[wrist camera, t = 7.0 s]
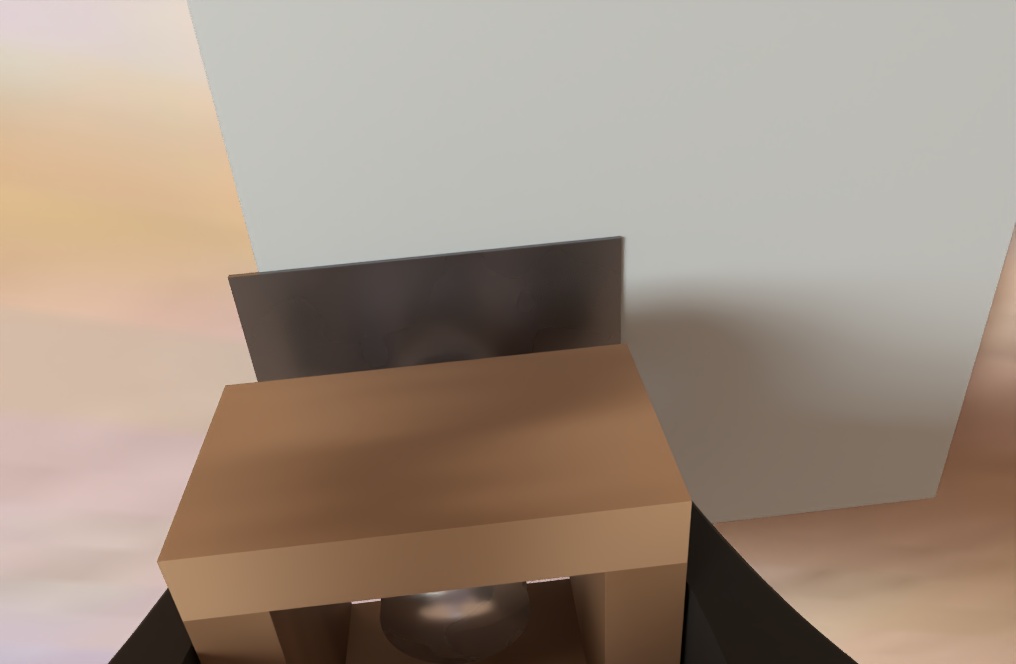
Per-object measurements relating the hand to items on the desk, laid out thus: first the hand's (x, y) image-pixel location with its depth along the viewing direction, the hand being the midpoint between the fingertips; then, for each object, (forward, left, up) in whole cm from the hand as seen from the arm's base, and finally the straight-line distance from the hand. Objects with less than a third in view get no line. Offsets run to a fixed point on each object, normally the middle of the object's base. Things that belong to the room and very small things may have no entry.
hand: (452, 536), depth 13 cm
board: (-2, -4, -4) cm, 6 cm away
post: (0, 0, -4) cm, 4 cm away
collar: (0, 0, 0) cm, 1 cm away
